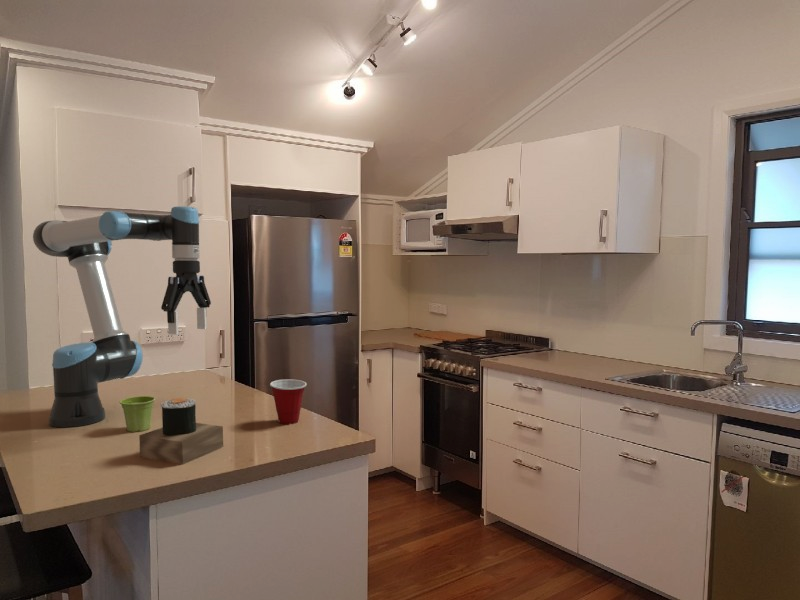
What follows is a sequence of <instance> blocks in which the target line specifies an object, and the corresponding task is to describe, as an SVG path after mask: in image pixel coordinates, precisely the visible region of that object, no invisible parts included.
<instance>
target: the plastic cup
mask: <svg viewBox="0 0 800 600" xmlns="http://www.w3.org/2000/svg"><path fill="white" fill-rule="evenodd" d="M307 385H308V384H307V382H306V381H303V380H300V379H290V378H289V379H287V378H286V379H276V380H274V381H271V382H270V384H269V386H270V388H271V390H272V395H273V399H274V405H275V409H276V413H277V419H278V422H279V424H283V425H291V424H296V423H298V422H299V419H300V415H301V409H302V403H303V396H304V392H305V388H306V387H307Z"/></svg>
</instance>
